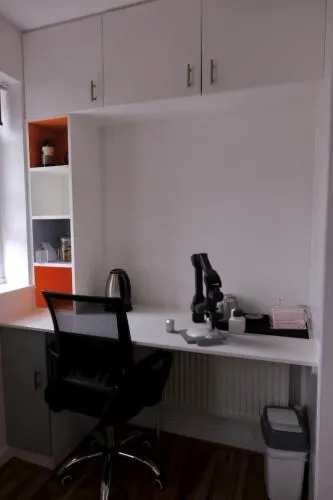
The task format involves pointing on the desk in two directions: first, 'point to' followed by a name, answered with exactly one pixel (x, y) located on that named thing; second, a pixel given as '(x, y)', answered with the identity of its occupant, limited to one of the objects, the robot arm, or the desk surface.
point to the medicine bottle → (237, 322)
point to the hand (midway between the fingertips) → (211, 327)
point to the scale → (202, 336)
